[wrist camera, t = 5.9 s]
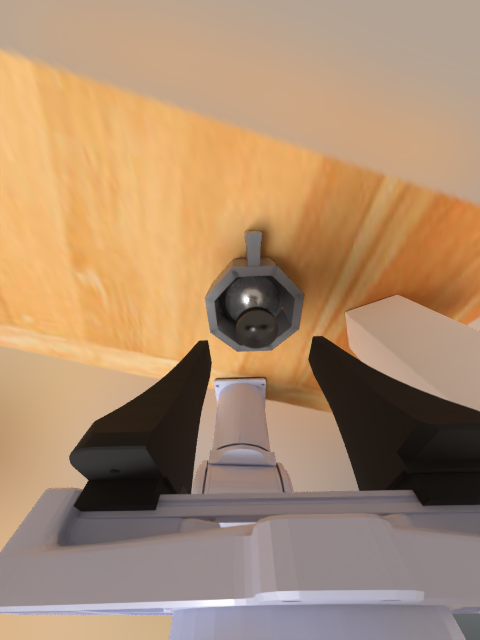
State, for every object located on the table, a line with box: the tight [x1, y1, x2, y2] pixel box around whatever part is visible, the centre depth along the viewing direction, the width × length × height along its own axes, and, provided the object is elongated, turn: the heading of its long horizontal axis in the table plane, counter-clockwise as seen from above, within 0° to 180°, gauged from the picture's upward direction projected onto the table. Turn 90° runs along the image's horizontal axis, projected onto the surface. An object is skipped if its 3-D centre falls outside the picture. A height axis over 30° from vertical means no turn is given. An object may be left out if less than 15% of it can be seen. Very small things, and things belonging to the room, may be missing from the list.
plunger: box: [225, 276, 280, 349], centre depth 17 cm, size 6×6×6 cm
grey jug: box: [205, 231, 304, 352], centre depth 18 cm, size 12×9×4 cm
